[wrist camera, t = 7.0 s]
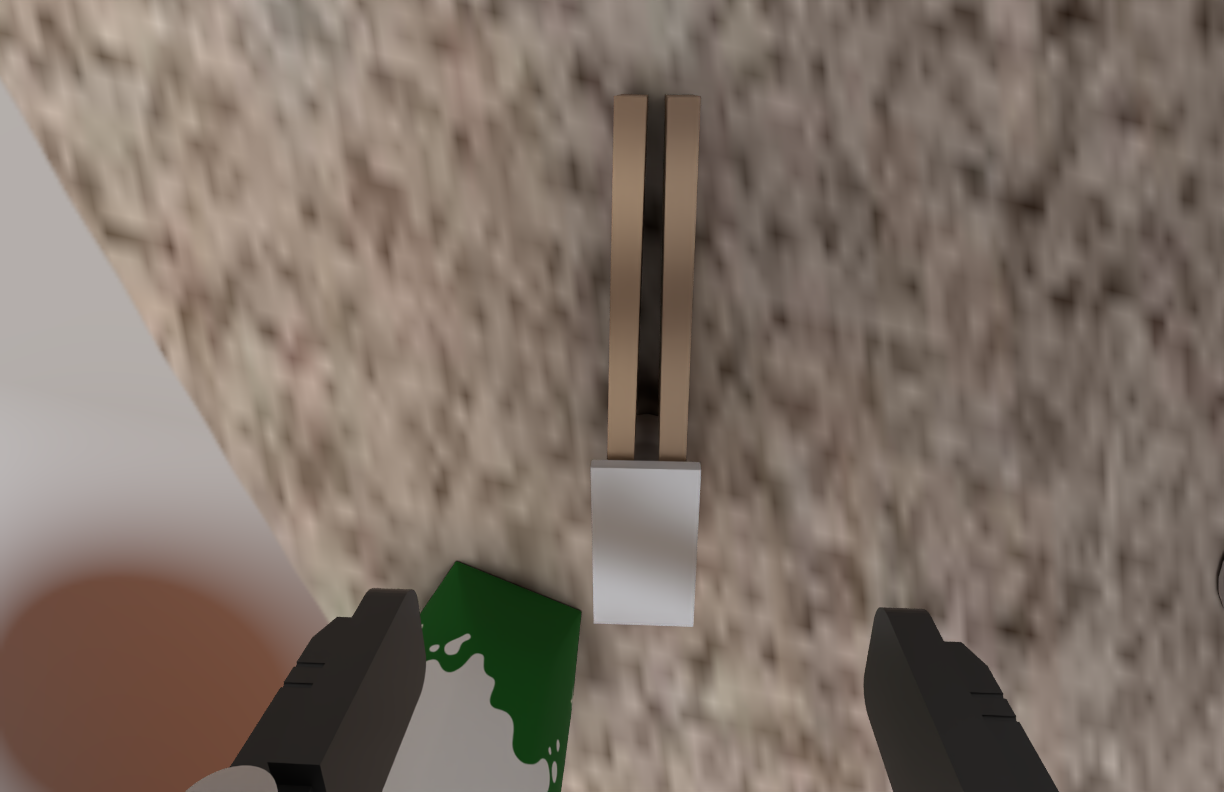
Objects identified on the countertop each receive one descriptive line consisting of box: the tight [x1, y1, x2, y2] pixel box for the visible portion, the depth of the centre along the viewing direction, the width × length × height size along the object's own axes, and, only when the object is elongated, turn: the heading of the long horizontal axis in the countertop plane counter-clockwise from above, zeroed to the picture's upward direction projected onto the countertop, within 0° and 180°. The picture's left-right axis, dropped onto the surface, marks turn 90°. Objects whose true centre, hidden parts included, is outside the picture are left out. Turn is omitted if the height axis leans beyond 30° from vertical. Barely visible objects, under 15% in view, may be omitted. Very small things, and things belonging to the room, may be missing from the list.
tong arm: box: [607, 94, 659, 461], centre depth 27 cm, size 16×3×6 cm, turn 179°
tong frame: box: [591, 95, 701, 627], centre depth 28 cm, size 20×4×7 cm, turn 0°
